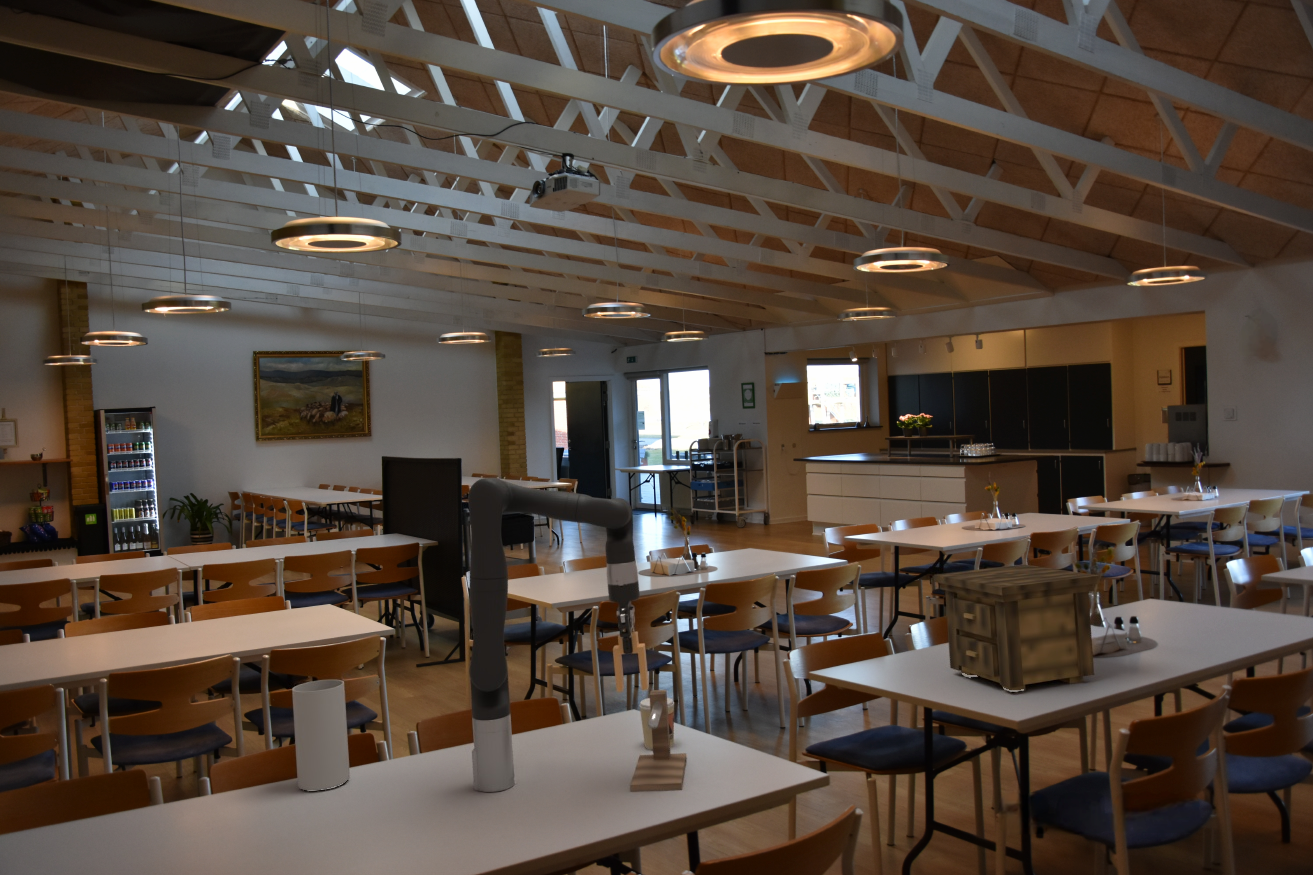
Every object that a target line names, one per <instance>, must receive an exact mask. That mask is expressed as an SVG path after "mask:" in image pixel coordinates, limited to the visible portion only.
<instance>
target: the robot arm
mask: <svg viewBox="0 0 1313 875" xmlns="http://www.w3.org/2000/svg"><path fill="white" fill-rule="evenodd" d="M467 500H468V510H469V511H468V513H469V521H470V522H469V523H470V536H471V537H470V538H471V539H470V540H471V541H470V554H469V555H470V557H469V558H470V559H469V560H470V562H469V565H470V566H469V602H470V603H469V604H470V614H471V615H470V616H471V622H472V633H473V634H472V635H473V636H472V646H471V650H472V651H471V657H470V658H471V659H470V661H469V669H468V670H469V671H468V673H469V674H468V675H469V679H470V697H471V698H470V699H471V700H470V701H471V717H472V720H471V721H472V732H473V749H472V750H471V759H472V761H471V762H472V776H473V778H472V779H473V791H480V792H485V793H487V792H488V793H491V792H492V793H495V792H500V791H505V790H509V789H510V788H513V786H514V785H515V783H516V780H515V768H514V767H515V765H514V750H513V734H512V721H511V720H512V719H511V718H512V717H511V716H512V715H511V702H510V701H511V700H510V699H511V698H510V688H509V686H510V685H509V670H508V668H509V667H508V662H507V658H506V649H505V624H506V615H507V608H508V596H509V592H508V591H509V571H508V562H507V558H506V553H505V549H504V545H503V540H502V520H503V519H502V518H503V514H504V513H522V514H523V513H524V514H525V513H526V514H531V515H535V516H540V517H545V518H548V519H552V520H558V521H565V522H571V523H577V524H578V523H579V524H588V525H591V526H597V527H602V528H605V530H606V532H605V533H606V540H605V546H604V548H605V559H606V581H607V582H606V584H607V592H608V594H607V595H608V601H609V602H610V603H618V607H617V609H616V618H617V622H618V631H619V633H620V637H621V638H622V641H623V652H624V654H623V655H629V654H630V655H632V654H633V653H632V652H633V647H632V632H636V631H635V630H636V629H635V628H636V625H635V623H636V618H635V606H634V604H632V602H634V601H638V600H639V599H640V598H641V595H640V585H639V584H640V583H639V574H638V567H637V564H636V552H635V545H634V537H633V536H634V517H633V508H632V506H631V505H630V503H629V502H628V501H627V500H626V499H624V498H622V497H615V498H611V499H610V498H600V497H592V496H591V495H589V494H588V495H587V494H583V493H578V492H577V493H575V492H568V491H560V490H550V489H549V490H547V489H540V488H539V489H538V488H537V489H536V488H530V487H528V486H527V487H526V486H522V485H518V484H516V483H511V482H508V481H505V480H502V479H500V478H497V477H483V478H480V479H478V480H476V481H475V482H474V483H473V484H472V485H471V487H470V489H469V491H468V497H467ZM631 653H632V654H631Z"/></svg>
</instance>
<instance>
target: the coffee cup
mask: <svg viewBox="0 0 1313 875" xmlns="http://www.w3.org/2000/svg"><path fill="white" fill-rule="evenodd" d="M667 706H668V722H669V738H670V749H671V748H672V747H674V744H675V743H674V741H675V740H674V737H675V736H674V735H675V732H674V731H675V728H674V727H675V724H674V723H675V722H674V721H675V714H674V713H675V709H674V708H675V702H674V699H673V698H671V697H667ZM639 709H640V710H639V711H640V719H641V726H642V735H643V742H644V747H645V749H646V750H649V749H650V751H653V742H652V729H651V728H649V727H648V721H649V717H650V714H651V710H650V697H648V698H644V699H642V700H641V701H640V703H639Z"/></svg>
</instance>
